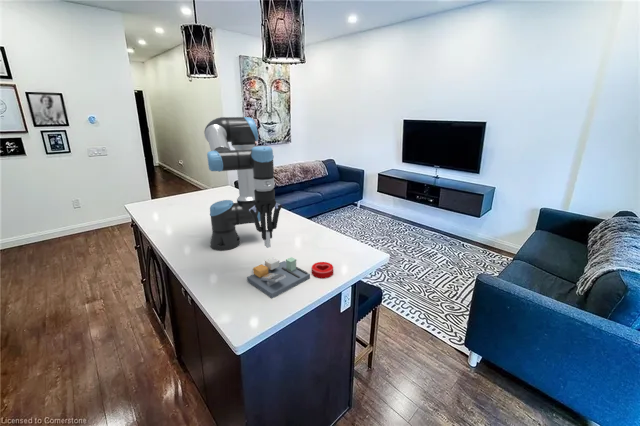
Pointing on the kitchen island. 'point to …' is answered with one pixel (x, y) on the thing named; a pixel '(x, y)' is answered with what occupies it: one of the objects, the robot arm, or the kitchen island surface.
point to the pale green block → (291, 264)
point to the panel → (281, 285)
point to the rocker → (273, 277)
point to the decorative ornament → (322, 270)
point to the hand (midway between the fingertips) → (267, 246)
